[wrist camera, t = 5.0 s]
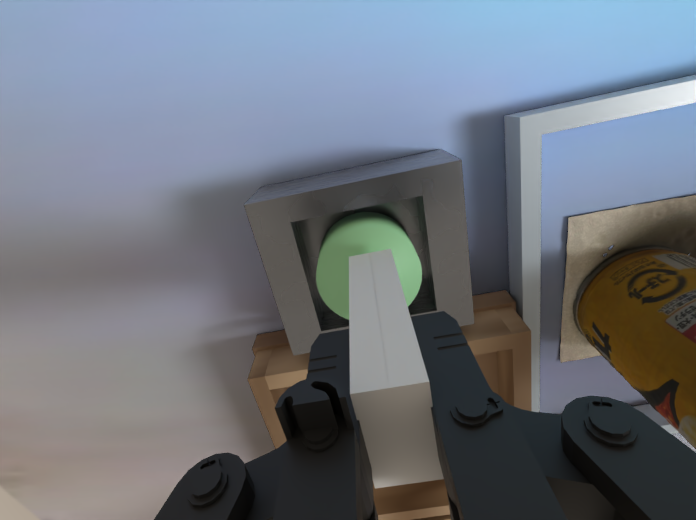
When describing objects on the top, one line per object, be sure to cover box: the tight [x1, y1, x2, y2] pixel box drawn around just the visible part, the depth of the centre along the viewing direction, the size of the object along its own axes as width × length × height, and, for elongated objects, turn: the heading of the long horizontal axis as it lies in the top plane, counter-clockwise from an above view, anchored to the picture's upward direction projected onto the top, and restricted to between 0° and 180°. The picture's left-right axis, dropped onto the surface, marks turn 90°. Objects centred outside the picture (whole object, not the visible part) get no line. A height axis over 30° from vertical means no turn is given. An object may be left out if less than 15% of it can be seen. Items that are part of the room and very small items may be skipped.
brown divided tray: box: [248, 290, 532, 520], centre depth 22 cm, size 13×24×3 cm, turn 12°
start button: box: [316, 212, 422, 320], centre depth 15 cm, size 4×4×2 cm
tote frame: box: [504, 75, 696, 434], centre depth 18 cm, size 13×19×2 cm
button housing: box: [244, 149, 474, 356], centre depth 16 cm, size 8×7×3 cm
